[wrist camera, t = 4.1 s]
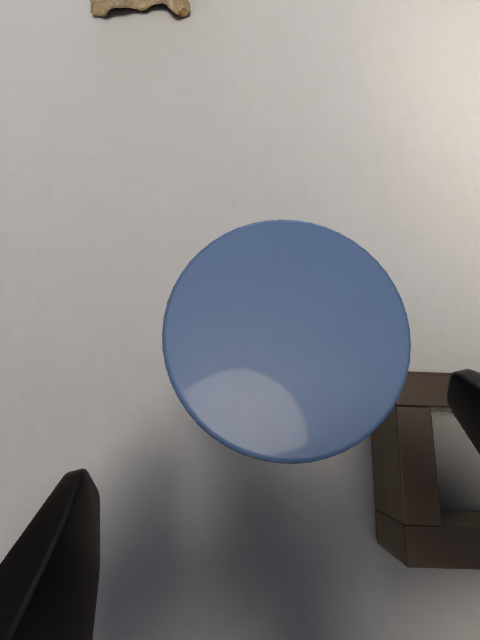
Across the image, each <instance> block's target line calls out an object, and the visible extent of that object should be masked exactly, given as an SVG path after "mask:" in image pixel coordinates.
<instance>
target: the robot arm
mask: <svg viewBox="0 0 480 640" xmlns="http://www.w3.org/2000/svg"><path fill="white" fill-rule="evenodd" d="M446 398H447V403H448V405H449V407H450V409H451V410H452V412H453V414H454V415H455V417H456V418H457V420H458V421H459V423H460V424H461V426H462V428H463V429H464V431H465V432H466V434H467V435H468V437H469V438H470V440H471V442H472V443H473V445H474V446H475V448H476V449H477V451H478V452H479V454H480V373H478V372H476V371H473V370H470V369H464V370H460V371H456V372H453V373H452V374H451V375H450V378H449V384H448V390H447V397H446ZM99 571H100V497H99V492H98V489H97V487H96V486H95V484H94V482H93V480H92V478H91V477H90V475H89V473H88V471H87V470H86V469H79V470H75V471H71V472H68V473H66V474H65V475H64V476H63V478H62V479H61V480H60V482H59V483H58V485H57V486H56V487H55V489H54V490H53V492H52V493H51V494H50V496H49V497H48V498H47V500H46V501H45V503H44V504H43V505H42V507H41V508H40V510H39V511H38V512H37V514H36V515H35V517H34V518H33V519H32V521H31V522H30V523H29V525H28V526H27V528H26V529H25V530H24V532H23V533H22V535H21V536H20V537H19V539H18V540H17V541H16V543H15V544H14V546H13V547H12V548H11V550H10V551H9V553H8V554H7V555H6V557H5V558H4V560H3V561H2V562H1V564H0V640H92V639H93V630H94V620H95V611H96V602H97V592H98V583H99Z"/></svg>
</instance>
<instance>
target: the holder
mask: <svg viewBox="0 0 480 640" xmlns="http://www.w3.org/2000/svg"><path fill="white" fill-rule="evenodd" d="M451 374H452V373H433V372H407V377H406V380H405V383H404V386H403V389H402V392H401V394H400V396H399V398H398V400H397V402H396V404H395V406H394V408H393V409H392V410H391V412H390V413H389V415H388V416H387V417H386V419H385V420H384V421H383V422H382V424H381V425H380V426H379V427H378V428H377V429H376V430H375V431H374V432H373V433H372V454H373V474H374V493H375V508H377V509H376V527H377V542H378V544H380V545H381V546H382V547H383V548H385V549H386V550H387V551H388V552H390V553H391V554H392V555H393V556H394V557H396V558H397V559H398V560H399V561H401V562H402V563H403V564H404V565H405V566H407V567H412V568H444V569H477V570H480V512H471V511H440V506H439V495H438V484H437V473H436V462H435V451H434V439H433V428H432V417H431V411H452V410H451V409H450V407H449V405H448V403H447V398H446V397H447V390H448V384H449V378H450V375H451Z"/></svg>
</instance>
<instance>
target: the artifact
mask: <svg viewBox="0 0 480 640" xmlns="http://www.w3.org/2000/svg"><path fill="white" fill-rule="evenodd" d="M90 1H91V13H92V14H93V15H98V16H101V17H104V16H106V15H107V13H108V11H109V10H110V9H112V8H123V7H125V8H127V7H128V8H132V9H138V10H140V11H143V10H146V9H147V8H149V7H150V6H152V5H155V4H161V3H163V4H165V5H167V6H168V8H169V9H171V10H172V11H173V12H174V13H175V14H177V15H178V16H180V17H186V16H187V15H189V14H190V4H189V2H188V0H90Z"/></svg>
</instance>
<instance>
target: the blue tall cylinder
mask: <svg viewBox="0 0 480 640" xmlns="http://www.w3.org/2000/svg"><path fill="white" fill-rule="evenodd" d="M162 342H163V354H164V360H165V366H166V369H167V372H168V375H169V379H170V382H171V384H172V386H173V388H174V390H175V393H176V395H177V397H178V398H179V400H180V402H181V403H182V405H183V406H184V408H185V409H186V411H187V412H188V413H189V415H190V416H191V417H192V418H193V419H194V420H195V422H196V423H197V424H198V425H199V426H200V427H201V428H202V429H204V430H205V431H206V432H207V433H208V434H209V435H210V436H211V437H213V438H214V439H216V440H217V441H219V442H220V443H222V444H223V445H225V446H226V447H228V448H230V449H232V450H234V451H236V452H238V453H241V454H243V455H246V456H249V457H252V458H255V459H258V460H263V461H268V462H273V463H286V464H298V463H309V462H314V461H319V460H323V459H327V458H330V457H333V456H335V455H338V454H340V453H343V452H345V451H347V450H348V449H350V448H352V447H354V446H355V445H357V444H359V443H360V442H361V441H363V440H364V439H365V438H367V437H368V436H369V435H370V434H372V433H373V432H374V431H375V430H376V429H377V428H378V427H379V426H380V425H381V424H382V422H383V421H384V420H385V419H386V417H387V416H388V415H389V413H390V412H391V410H392V409H393V408H394V406H395V404H396V402H397V400H398V398H399V396H400V394H401V392H402V389H403V386H404V383H405V380H406V377H407V372H408V367H409V363H410V349H411V342H410V329H409V324H408V319H407V314H406V311H405V308H404V305H403V302H402V299H401V297H400V295H399V293H398V291H397V289H396V287H395V285H394V283H393V282H392V280H391V279H390V277H389V276H388V274H387V273H386V271H385V270H384V269H383V268H382V267H381V265H380V264H379V263H378V262H377V261H376V260H375V259H374V258H373V257H372V256H371V255H370V254H369V253H368V252H367V251H366V250H365V249H363V248H362V247H361V246H359V245H358V244H356V243H355V242H354V241H352V240H351V239H349V238H347V237H345V236H344V235H342V234H340V233H338V232H335V231H333V230H331V229H328V228H326V227H323V226H319V225H316V224H313V223H308V222H302V221H295V220H270V221H263V222H257V223H252V224H249V225H246V226H243V227H239V228H237V229H235V230H232V231H230V232H228V233H226V234H224V235H222V236H221V237H219V238H217V239H216V240H214V241H213V242H211V243H210V244H209V245H207V246H206V247H205V248H204V249H202V250H201V251H200V252H199V253H198V254H197V255H196V256H195V257H194V258H193V259H192V260H191V261H190V262H189V264H188V265H187V266H186V268H185V269H184V271H183V272H182V273H181V275H180V276H179V278H178V280H177V282H176V284H175V285H174V287H173V290H172V292H171V295H170V297H169V300H168V302H167V307H166V311H165V315H164V321H163V331H162Z"/></svg>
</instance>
